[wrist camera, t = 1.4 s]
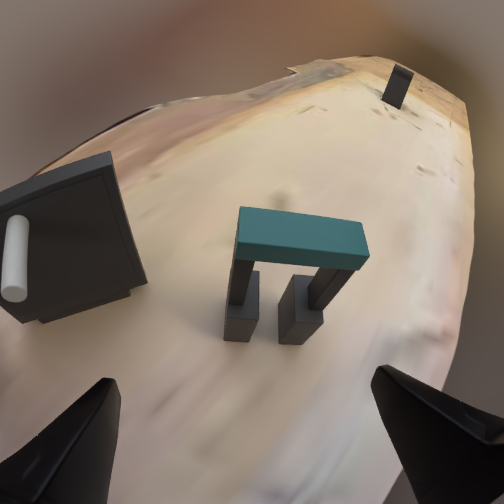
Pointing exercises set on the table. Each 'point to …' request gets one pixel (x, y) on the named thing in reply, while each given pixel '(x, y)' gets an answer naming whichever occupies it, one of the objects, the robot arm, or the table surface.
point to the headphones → (296, 253)
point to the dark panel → (66, 242)
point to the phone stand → (397, 86)
